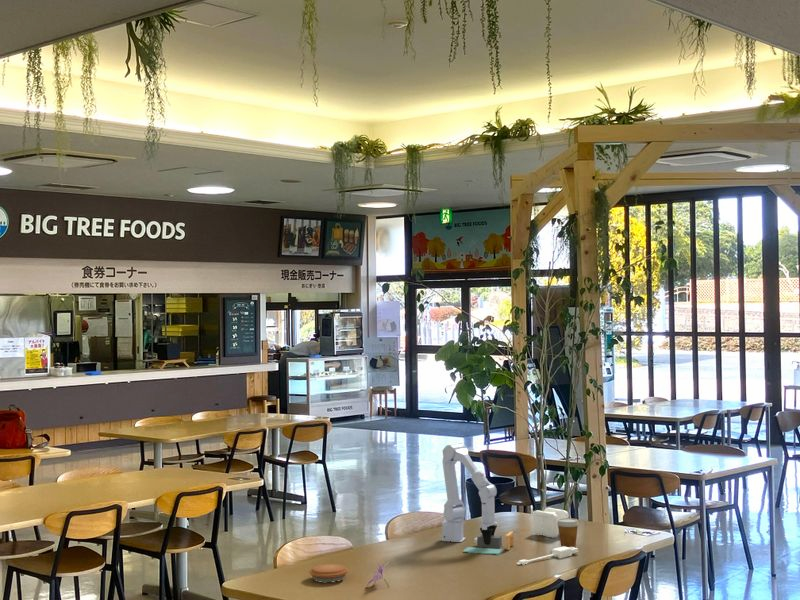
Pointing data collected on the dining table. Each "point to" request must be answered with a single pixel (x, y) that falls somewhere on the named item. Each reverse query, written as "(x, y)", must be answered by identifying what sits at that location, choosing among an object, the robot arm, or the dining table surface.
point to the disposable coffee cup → (568, 531)
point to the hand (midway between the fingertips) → (488, 542)
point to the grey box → (494, 542)
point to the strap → (509, 540)
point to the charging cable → (554, 554)
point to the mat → (483, 550)
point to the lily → (378, 574)
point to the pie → (328, 572)
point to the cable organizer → (547, 521)
